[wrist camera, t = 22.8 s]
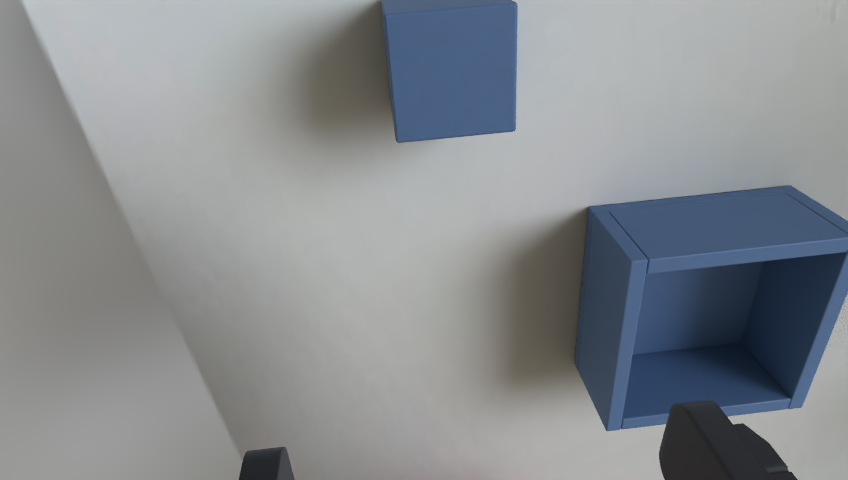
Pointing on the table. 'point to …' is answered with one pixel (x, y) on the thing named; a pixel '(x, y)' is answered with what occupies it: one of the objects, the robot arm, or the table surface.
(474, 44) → the slate-blue block
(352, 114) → the table surface
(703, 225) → the slate bin
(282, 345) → the table surface
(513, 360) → the table surface
